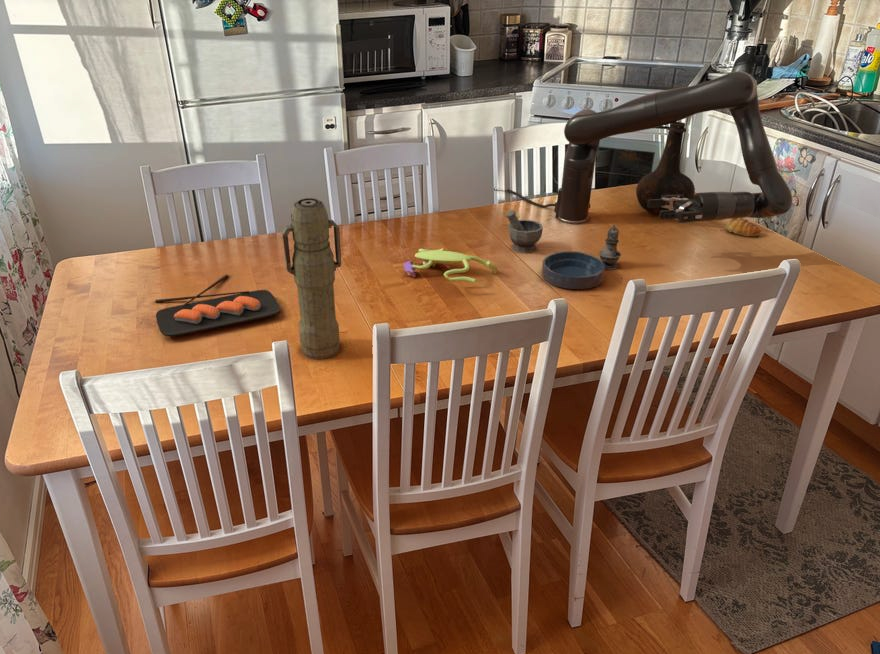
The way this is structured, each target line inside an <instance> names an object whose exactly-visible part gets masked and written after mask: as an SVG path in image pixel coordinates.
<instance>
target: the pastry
mask: <svg viewBox="0 0 880 654" xmlns="http://www.w3.org/2000/svg"><path fill="white" fill-rule="evenodd" d="M725 229H726V230H727V231H728V232H729V233H733V234H734V235H739V236H743V237H756V236H759V235H760V233H761V231H762V230H761V228H760V227H759V226H757V224H755V223H753V222H751V221H749V220H748V219H744V218H733V219H728V222H727V224H726V226H725Z"/></svg>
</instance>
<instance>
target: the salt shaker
mask: <svg viewBox="0 0 880 654" xmlns="http://www.w3.org/2000/svg"><path fill="white" fill-rule="evenodd" d="M619 232H620V230H619V228H618V227H616V224H613V225H612V227H609V228H608V230H607V235H606V238H605V239H604V240H605V247H604V249H601V250H600V251H598V255H599V259H600V260H601V261H603V263H604V264H605V270H611V271H612V270H616V269H618V268H619V265H618V264H617V262H618V261H619V260H620V258H621V256H622V254H621V252H620V251H618V243H619V234H620V233H619Z"/></svg>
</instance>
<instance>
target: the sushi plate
mask: <svg viewBox="0 0 880 654" xmlns="http://www.w3.org/2000/svg"><path fill="white" fill-rule="evenodd" d="M228 277H229V274H225V275H223V276H222V277H220V278H219V279H218V280H217V281H215V282H213V283H212V284H211V285H209V286H208V287H207V288H206V289H204V290H203V291H201V292H200V293H198V294H197V295H194V296H193V295H192V296H182V297H171V298H160V299H155V303H167V302H174V301H184V300H188V301H187V302H185V303H183V304H179V305H175V306H174V305H173V306H170V307H169V306H168V307H165V308H162V309H159V310H158V311H157V312H156V313H155V319H156V323H157V326H158V329H159V331H160V333H161V334H162V336H164V337H177V336H182V335H188V334H193V333H198V332H203V331H208V330H212V329H217V328H221V327H226V326H227V327H228V326H231V325H236V324H240V323H241V324H242V323H245V322H250V321H255V320H259V319H260V320H261V319H266V318H268V317H273V316H275V315H278V314H280V313H281V306H280V303H279V302H278V301H277V299H276V298H275V296H274V294H272V292H271V291H269V290H267V289H257V290H251V291H250V290H245V291H234V292H225V293H215V294H205V293H206V292H207V291H209V290H211V289H212V288H214V287H215V286H217V285H218V284H220V283H222V282H223V281H224V280H226V279H227V278H228ZM203 294H204V295H203ZM219 296H220V297H219ZM209 297H215V298H209ZM200 298H201V299H202V298H209V299H205V300H199V301H195V302H192V301H194V300H196V299H200Z"/></svg>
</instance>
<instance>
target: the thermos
mask: <svg viewBox="0 0 880 654" xmlns="http://www.w3.org/2000/svg"><path fill="white" fill-rule="evenodd" d="M290 217H291V218H290V224H287V225H285V227H284V229H282V232H281V237H282V245H283V252H284V254H283V255H284V263H285V264H284V265H285V270H286V271H287V273H289V274H290V275H293V281H294V283H295V285H296V289H297V299H298V308H299V322H298V333H299V342H300V344H301V353H302V354H303V356H304V357H306V358H308V359H312V360H324V359H329V358H332V357H335V356H336V355H337V354H338V353H339V351H340V348H341V347H340V339H341V338H340V326H339V322H338V320H337V315H336V303H335V289H334V287H335V286H334V283H335V281H336V272H337V269H338V268H340V267H342V252H341V251H342V247H341V233H340V232H341V231H340V227H339V225H338V224H337V223H336V222H335V220H333V219H329V214H328V211H327V208H326V206H325V204H324V202H323V201H322V200H320V199H318V198H314V197H305V198H301V199H299V200H297V201H295V202H294V203H293V206H292V209H291V214H290ZM332 227H333V237H334V238H333V239H334V252H333V251H332V248H331V242H330V240H329V239H330V229H332ZM291 232H292V240H293V242H294V243H293V253H292V258H291V252H290V242H289V234H290V233H291ZM334 253H335V255H334ZM334 256H335V257H334Z"/></svg>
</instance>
